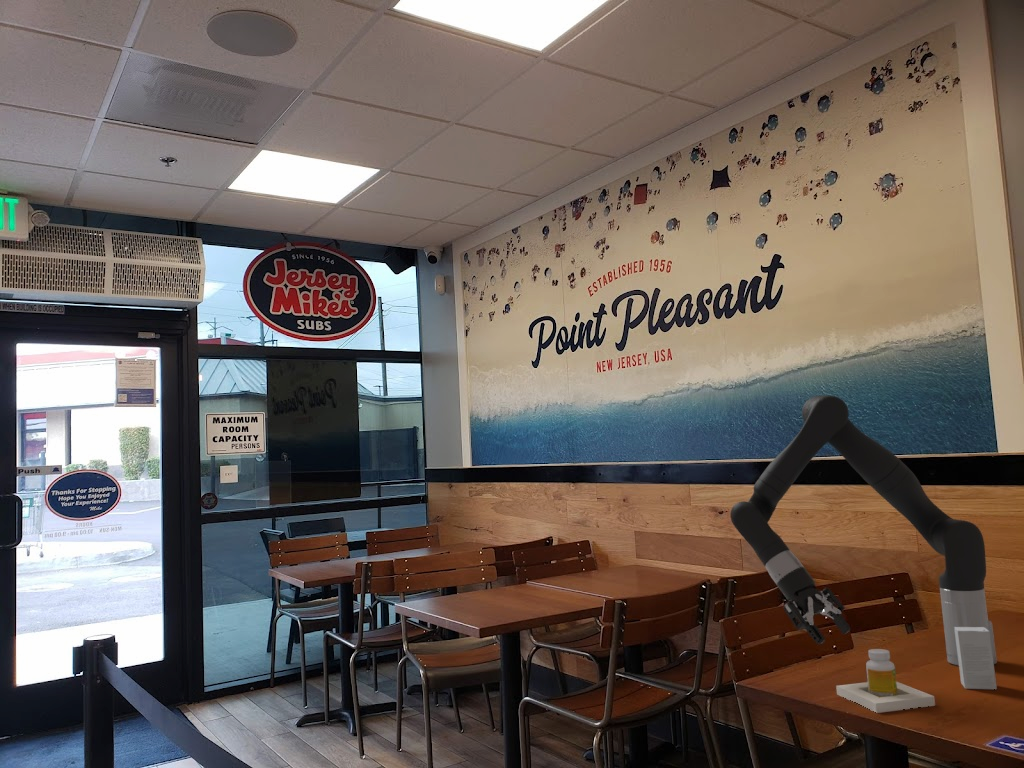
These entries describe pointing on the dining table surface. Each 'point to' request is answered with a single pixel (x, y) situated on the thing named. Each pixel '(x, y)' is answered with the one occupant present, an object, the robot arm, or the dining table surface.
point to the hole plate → (903, 700)
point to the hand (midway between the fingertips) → (835, 637)
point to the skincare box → (975, 658)
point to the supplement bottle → (881, 674)
